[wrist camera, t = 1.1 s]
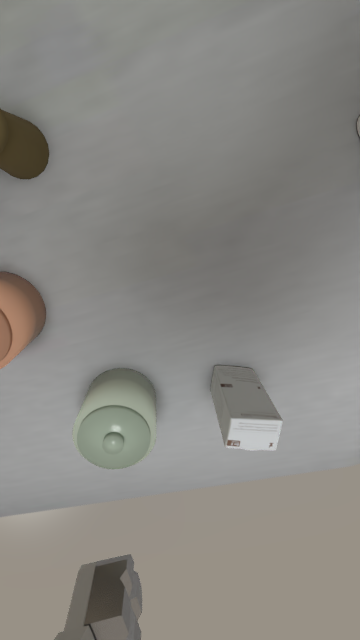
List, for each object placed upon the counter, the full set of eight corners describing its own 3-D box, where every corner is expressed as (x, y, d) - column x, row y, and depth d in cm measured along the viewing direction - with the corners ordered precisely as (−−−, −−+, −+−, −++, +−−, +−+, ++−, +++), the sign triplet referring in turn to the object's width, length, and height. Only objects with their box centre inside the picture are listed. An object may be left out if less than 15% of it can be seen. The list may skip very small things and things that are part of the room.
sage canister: (98, 359, 42) (81, 398, 32) (165, 379, 43) (168, 422, 34) (79, 418, 44) (58, 469, 35) (143, 434, 46) (140, 488, 37)
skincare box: (253, 367, 44) (287, 418, 32) (247, 394, 45) (278, 452, 34) (211, 364, 43) (231, 415, 32) (207, 391, 45) (225, 450, 33)
